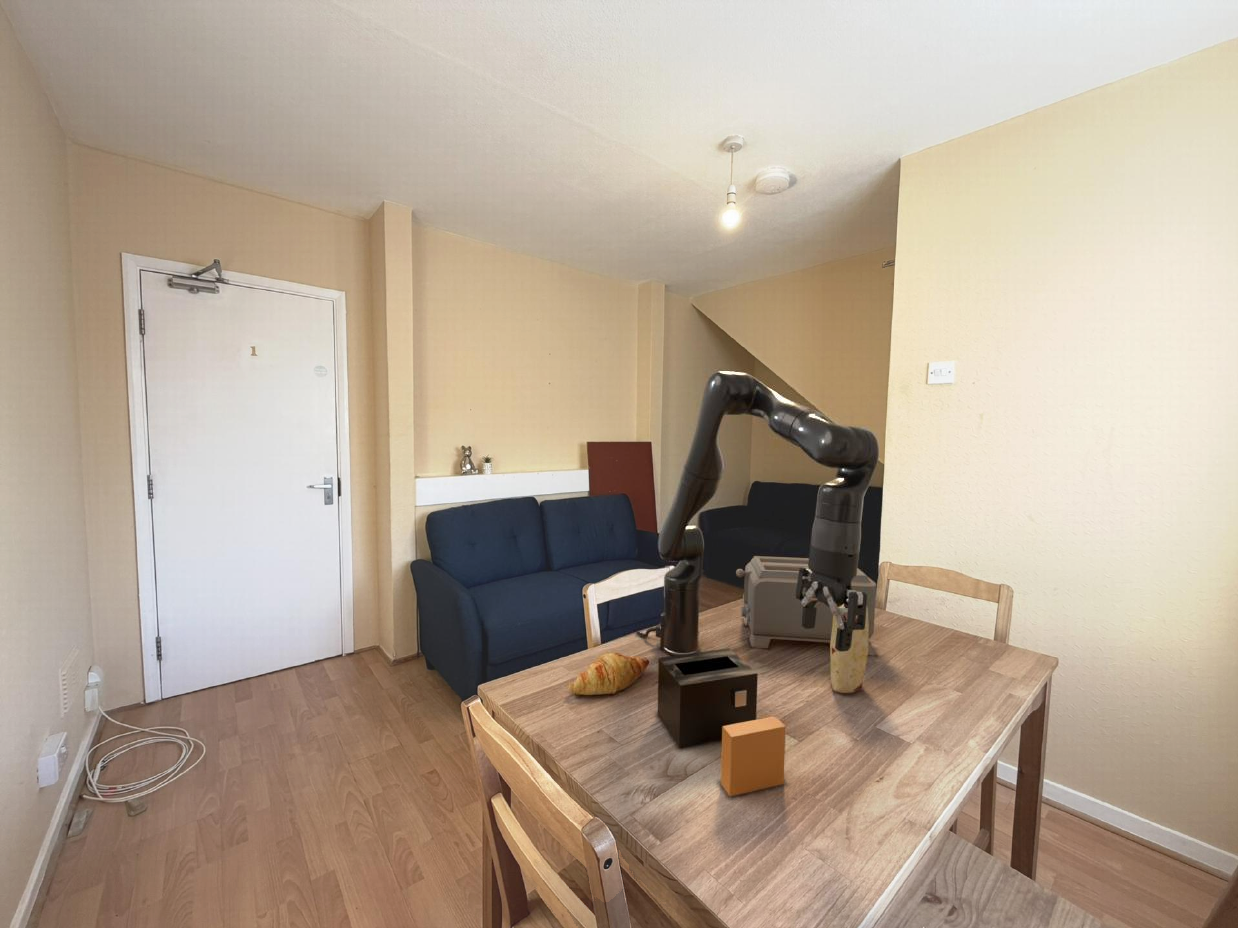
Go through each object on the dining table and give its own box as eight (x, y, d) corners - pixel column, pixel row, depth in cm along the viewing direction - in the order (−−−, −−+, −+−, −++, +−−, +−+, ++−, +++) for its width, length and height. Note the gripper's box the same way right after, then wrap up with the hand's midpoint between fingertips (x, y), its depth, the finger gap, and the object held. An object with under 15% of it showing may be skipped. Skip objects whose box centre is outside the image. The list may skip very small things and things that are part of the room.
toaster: (731, 618, 149) (733, 553, 148) (851, 625, 144) (854, 558, 143) (737, 646, 130) (739, 571, 129) (876, 655, 125) (880, 578, 124)
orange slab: (720, 783, 80) (722, 725, 79) (773, 771, 83) (774, 715, 82) (729, 796, 77) (731, 737, 76) (783, 783, 80) (785, 726, 79)
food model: (846, 701, 104) (851, 611, 103) (820, 687, 110) (823, 601, 108) (873, 689, 109) (878, 603, 108) (846, 676, 115) (850, 594, 113)
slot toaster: (657, 714, 99) (658, 657, 98) (727, 701, 104) (728, 647, 103) (681, 751, 88) (682, 687, 87) (758, 735, 93) (760, 675, 92)
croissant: (576, 718, 103) (584, 695, 99) (556, 679, 110) (563, 656, 106) (654, 686, 115) (664, 664, 111) (631, 653, 122) (640, 631, 118)
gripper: (789, 534, 87) (780, 622, 88) (846, 557, 73) (834, 660, 75) (825, 535, 89) (815, 620, 90) (886, 557, 75) (874, 657, 77)
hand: (824, 638), depth 82 cm, fingers open, 8 cm apart
